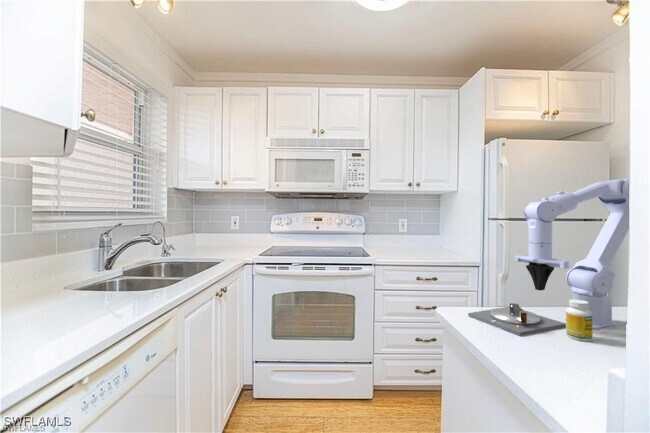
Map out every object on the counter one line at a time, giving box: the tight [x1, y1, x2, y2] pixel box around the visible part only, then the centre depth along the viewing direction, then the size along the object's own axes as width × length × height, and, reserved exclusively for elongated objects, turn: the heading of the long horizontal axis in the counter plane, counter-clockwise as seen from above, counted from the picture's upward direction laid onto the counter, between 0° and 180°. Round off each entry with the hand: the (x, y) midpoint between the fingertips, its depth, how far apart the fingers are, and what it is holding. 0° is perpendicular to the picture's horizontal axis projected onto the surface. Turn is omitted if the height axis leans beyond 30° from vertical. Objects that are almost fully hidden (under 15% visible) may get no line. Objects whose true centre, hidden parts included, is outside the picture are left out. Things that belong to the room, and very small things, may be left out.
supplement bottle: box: [565, 298, 594, 342], centre depth 83 cm, size 5×5×10 cm
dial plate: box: [467, 306, 566, 337], centre depth 96 cm, size 18×18×1 cm
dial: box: [490, 303, 540, 325], centre depth 95 cm, size 14×13×4 cm
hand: (539, 289), depth 92 cm, fingers closed
